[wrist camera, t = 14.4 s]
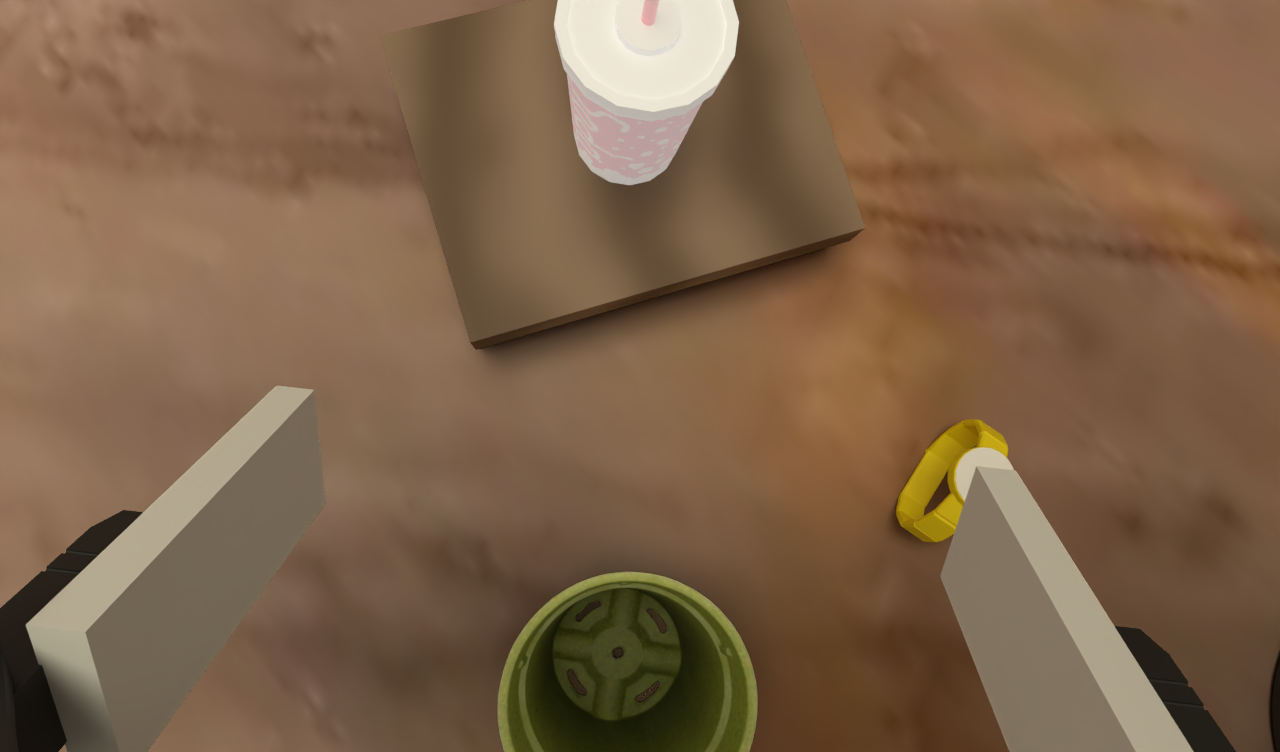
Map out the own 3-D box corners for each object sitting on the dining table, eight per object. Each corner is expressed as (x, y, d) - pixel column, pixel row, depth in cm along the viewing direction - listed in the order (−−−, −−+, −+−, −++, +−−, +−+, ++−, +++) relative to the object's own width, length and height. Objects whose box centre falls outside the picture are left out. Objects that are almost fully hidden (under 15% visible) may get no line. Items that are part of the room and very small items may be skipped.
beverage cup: (533, 100, 35) (512, -140, 21) (658, 47, 36) (716, -217, 22) (594, 224, 35) (613, 62, 21) (719, 168, 36) (818, -23, 22)
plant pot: (598, 801, 37) (608, 902, 28) (472, 637, 37) (444, 686, 29) (754, 666, 38) (809, 722, 30) (631, 508, 39) (650, 519, 30)
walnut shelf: (743, 5, 42) (766, -57, 37) (829, 257, 41) (865, 228, 36) (402, 89, 40) (379, 35, 35) (482, 358, 39) (470, 342, 34)
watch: (927, 417, 41) (993, 399, 35) (972, 448, 41) (1045, 435, 35) (869, 517, 39) (927, 517, 34) (916, 549, 39) (982, 554, 34)
